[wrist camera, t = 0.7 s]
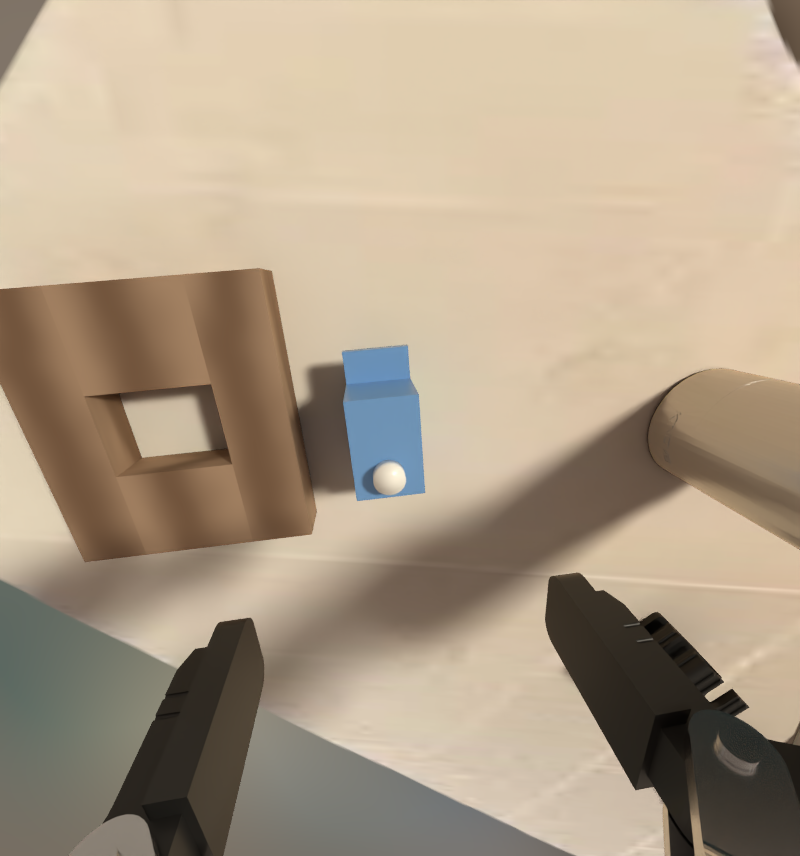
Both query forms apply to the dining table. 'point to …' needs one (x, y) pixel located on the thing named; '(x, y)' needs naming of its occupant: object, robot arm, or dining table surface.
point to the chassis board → (149, 370)
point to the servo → (383, 423)
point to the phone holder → (797, 739)
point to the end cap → (692, 663)
